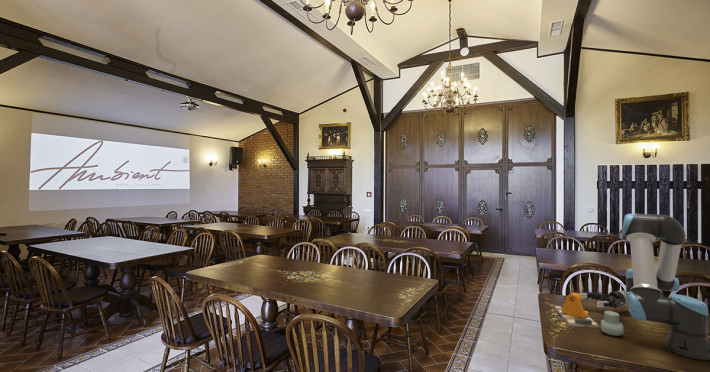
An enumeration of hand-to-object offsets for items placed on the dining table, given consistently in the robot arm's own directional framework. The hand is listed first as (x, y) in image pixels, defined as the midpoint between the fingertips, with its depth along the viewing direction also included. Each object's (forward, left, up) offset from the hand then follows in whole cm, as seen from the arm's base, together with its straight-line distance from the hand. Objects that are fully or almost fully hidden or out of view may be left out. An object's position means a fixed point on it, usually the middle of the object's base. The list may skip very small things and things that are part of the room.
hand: (586, 300), depth 188 cm
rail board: (-3, +7, -9) cm, 11 cm away
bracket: (-3, +7, -8) cm, 11 cm away
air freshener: (-21, -3, -9) cm, 24 cm away
